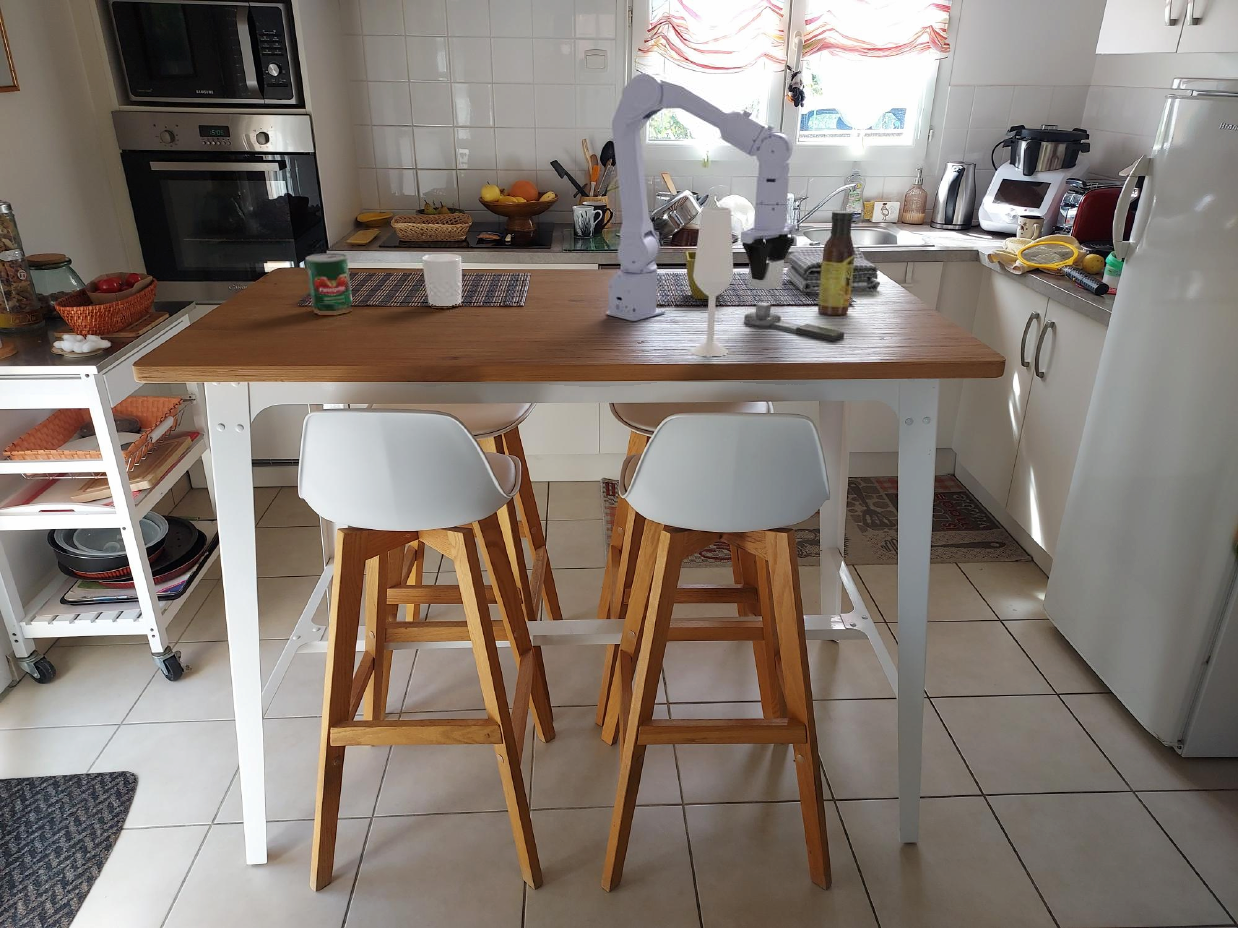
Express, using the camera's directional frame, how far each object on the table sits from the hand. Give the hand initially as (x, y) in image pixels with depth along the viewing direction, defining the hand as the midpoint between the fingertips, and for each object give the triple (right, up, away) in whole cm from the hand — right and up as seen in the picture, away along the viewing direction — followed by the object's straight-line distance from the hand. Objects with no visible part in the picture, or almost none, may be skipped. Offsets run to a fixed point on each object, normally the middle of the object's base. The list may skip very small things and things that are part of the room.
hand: (765, 277), depth 161 cm
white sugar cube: (0, -2, +1) cm, 2 cm away
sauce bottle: (+16, -5, +11) cm, 20 cm away
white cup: (-64, -3, +16) cm, 66 cm away
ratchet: (+5, -10, -1) cm, 11 cm away
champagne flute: (-12, -16, -14) cm, 24 cm away
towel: (+21, +5, +34) cm, 40 cm away
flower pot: (-9, +1, +24) cm, 25 cm away
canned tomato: (-86, -5, +12) cm, 87 cm away
